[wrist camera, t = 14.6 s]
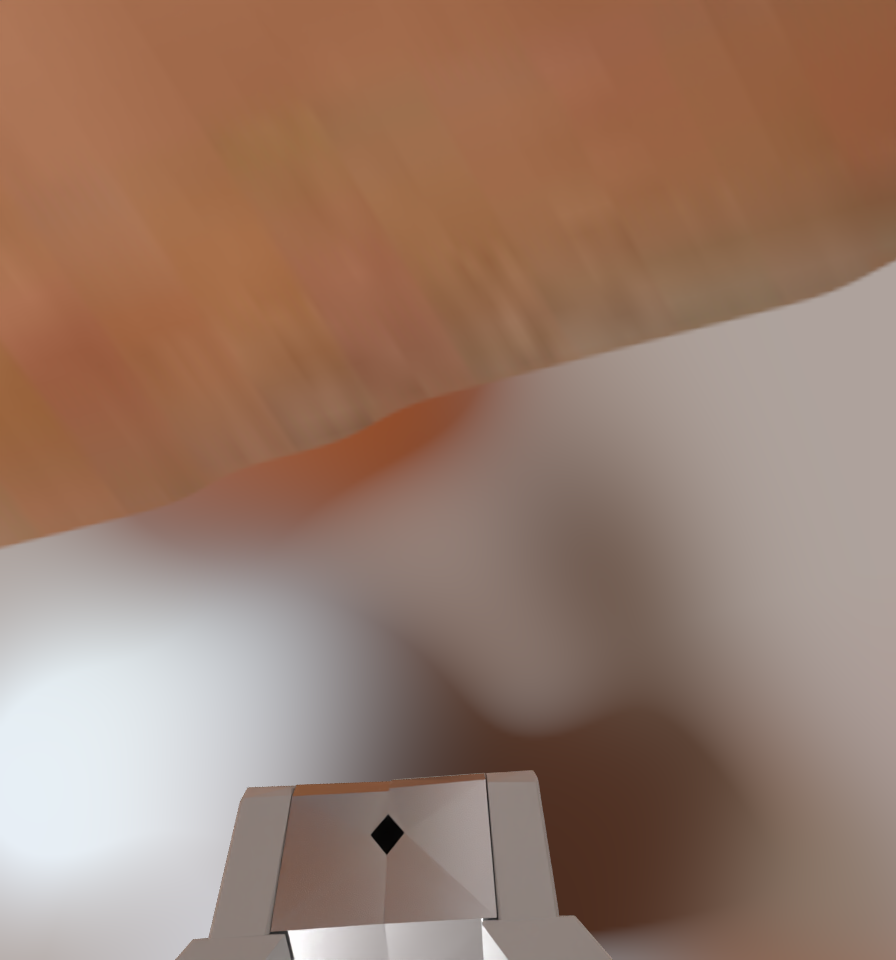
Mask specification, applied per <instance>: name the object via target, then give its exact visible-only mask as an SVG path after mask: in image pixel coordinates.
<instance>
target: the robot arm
mask: <svg viewBox="0 0 896 960" xmlns="http://www.w3.org/2000/svg"><path fill="white" fill-rule="evenodd" d="M175 960H613V959H612V958H611V957H610V956H609V955H608V953H607V952H606V951H605V950H604V949H603V948H602V946H601V945H600V944H599V943H598V942H597V941H596V940H595V938H593V936H592V935H591V934H590V933H589V932H588V930H587V929H586V928H585V927H584V926H583V925H582V924H581V922H580V921H579V920H578V919H577V918H576V917H575V916H559V912H558V905H557V899H556V892H555V886H554V880H553V874H552V867H551V861H550V855H549V848H548V842H547V835H546V829H545V822H544V816H543V810H542V803H541V797H540V790H539V784H538V778H537V776H536V775H535V773H534V771H533V770H531V771H515V772H500V773H487V774H486V778H485V774H484V773H478V774H465V775H451V776H438V777H424V778H411V779H398V780H391V781H390V782H362V783H335V784H307V785H296V786H276V787H275V786H274V787H273V786H272V787H249V788H247V790H246V792H245V793H244V795H243V797H242V799H241V801H240V804H239V808H238V812H237V817H236V822H235V826H234V830H233V834H232V839H231V843H230V847H229V851H228V856H227V860H226V865H225V869H224V873H223V877H222V882H221V886H220V890H219V895H218V899H217V903H216V908H215V912H214V916H213V921H212V925H211V929H210V934H209V938H203V939H193V940H192V941H191V942H190V943H189V945H188V946H187V947H186V948H185V949H184V950H183V952H182V953H181V954H180V955H179V956H178V957H177V958H176V959H175Z"/></svg>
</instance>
